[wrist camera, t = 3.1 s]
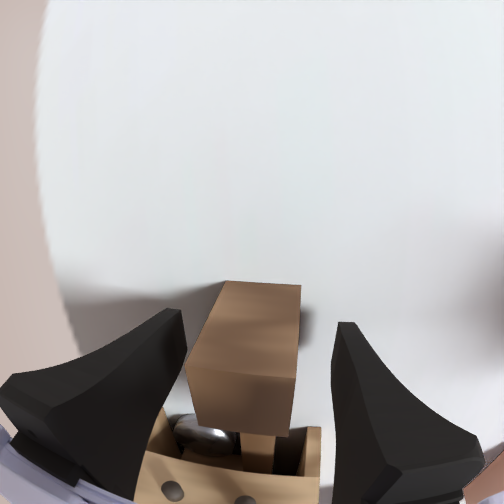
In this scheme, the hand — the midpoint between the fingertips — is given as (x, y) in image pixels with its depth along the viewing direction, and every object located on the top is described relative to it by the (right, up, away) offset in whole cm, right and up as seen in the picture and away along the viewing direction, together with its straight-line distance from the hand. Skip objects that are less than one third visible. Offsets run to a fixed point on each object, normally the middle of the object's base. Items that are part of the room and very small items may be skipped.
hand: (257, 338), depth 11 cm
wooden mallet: (-2, -5, +4) cm, 7 cm away
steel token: (-3, -8, +6) cm, 11 cm away
